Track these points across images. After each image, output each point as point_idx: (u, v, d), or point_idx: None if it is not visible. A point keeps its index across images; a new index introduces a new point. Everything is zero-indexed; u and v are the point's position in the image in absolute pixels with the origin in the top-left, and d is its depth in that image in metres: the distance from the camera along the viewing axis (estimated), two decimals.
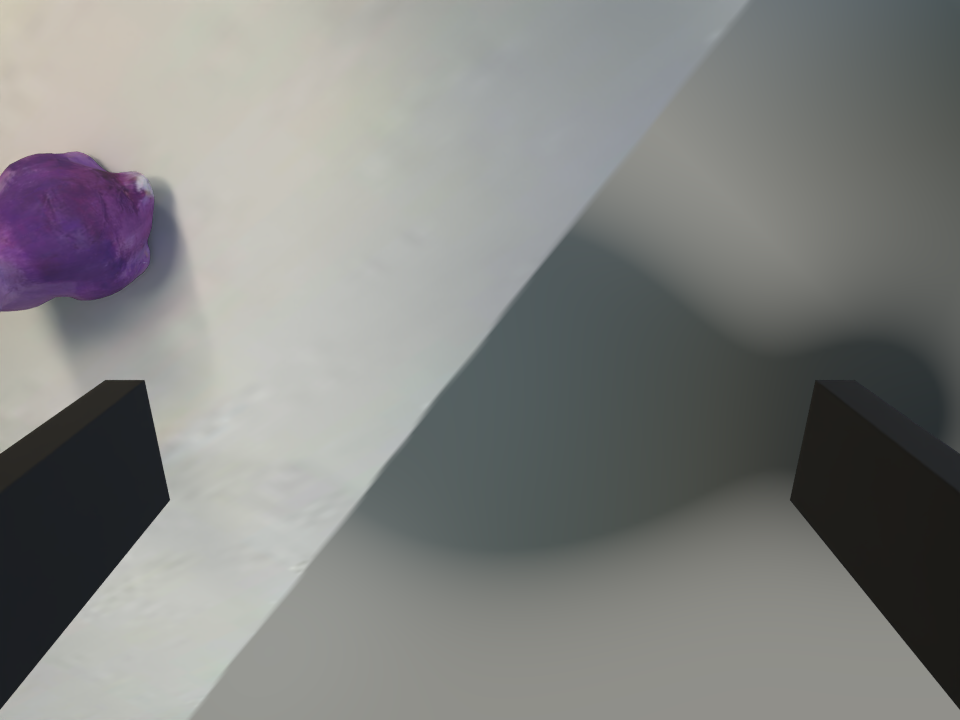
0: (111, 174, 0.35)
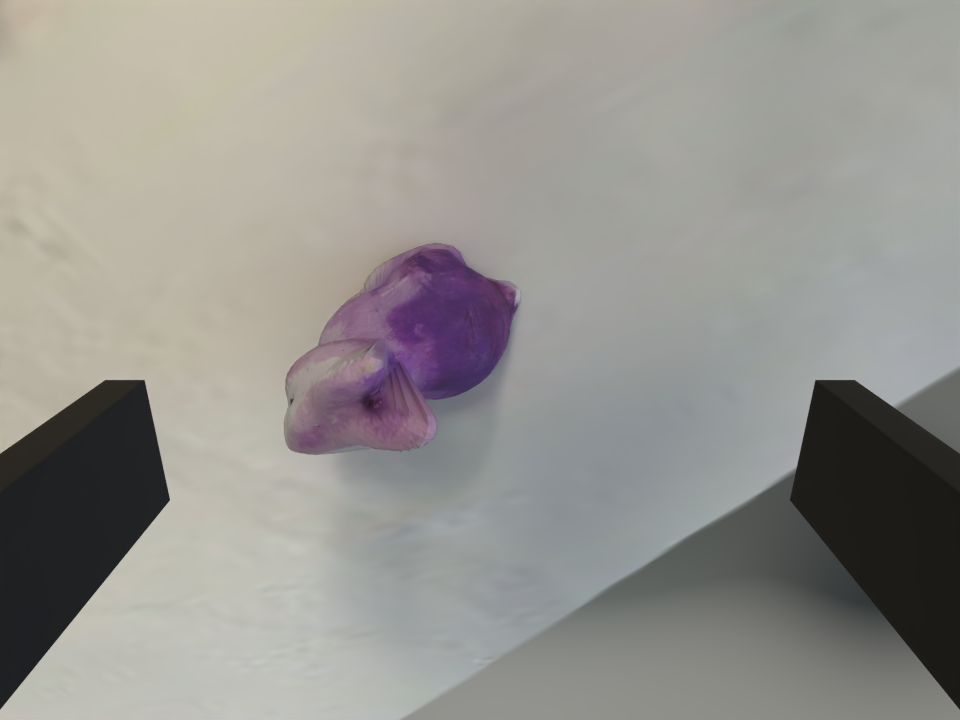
0: (493, 283, 0.34)
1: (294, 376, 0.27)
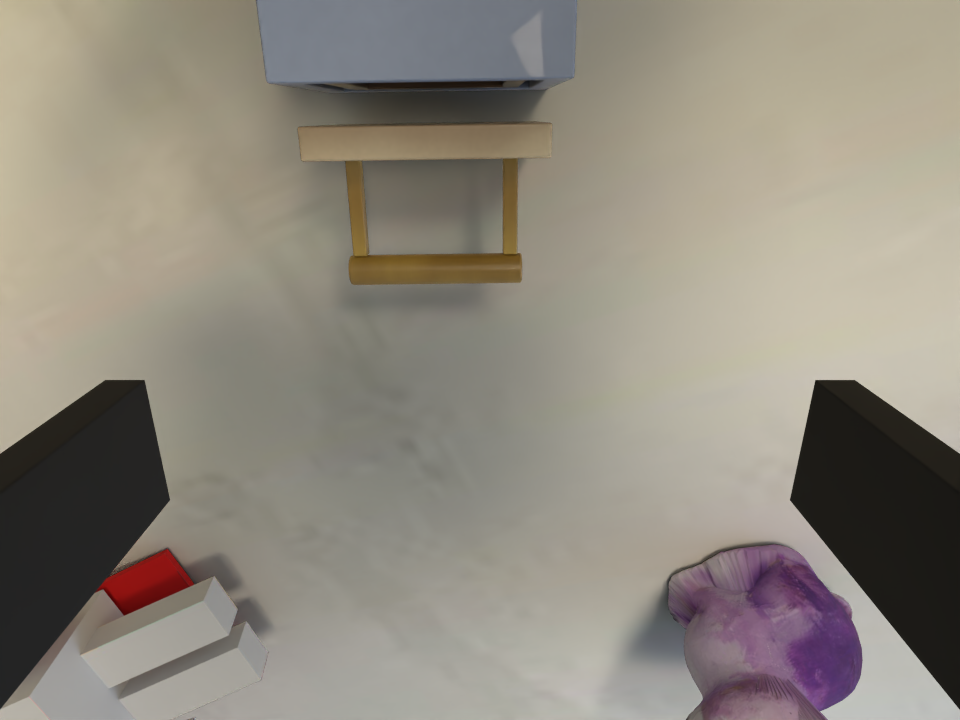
0: None
1: None
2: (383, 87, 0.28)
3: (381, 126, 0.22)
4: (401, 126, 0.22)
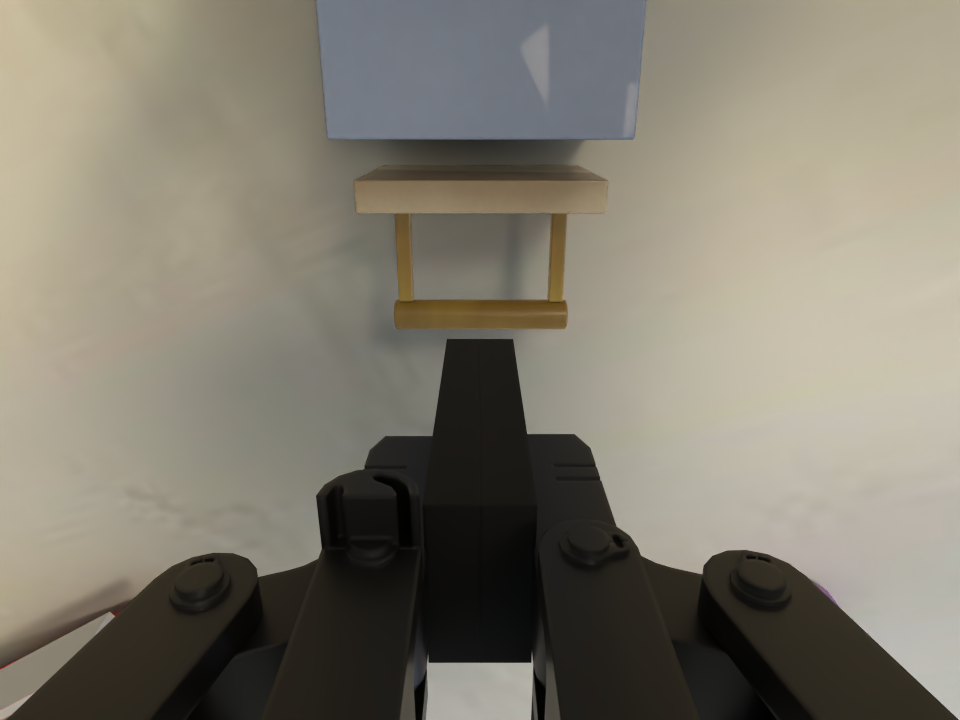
0: None
1: None
2: None
3: (437, 180, 0.22)
4: (457, 181, 0.22)
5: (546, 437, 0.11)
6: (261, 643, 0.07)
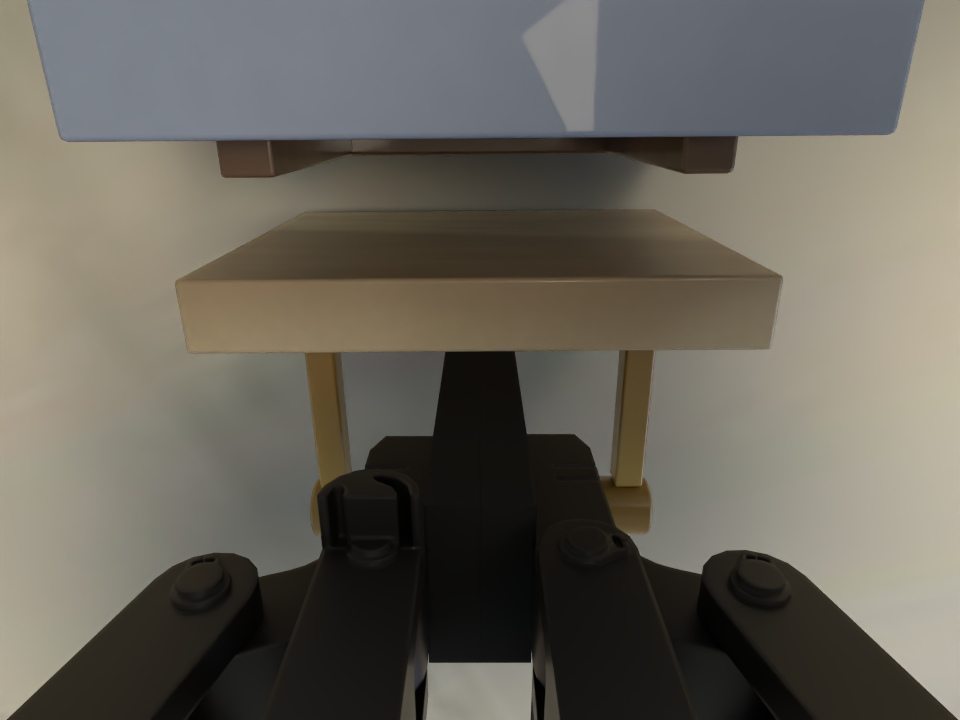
0: None
1: None
2: (381, 152, 0.15)
3: (375, 280, 0.09)
4: (423, 281, 0.09)
5: (546, 437, 0.11)
6: (262, 643, 0.07)
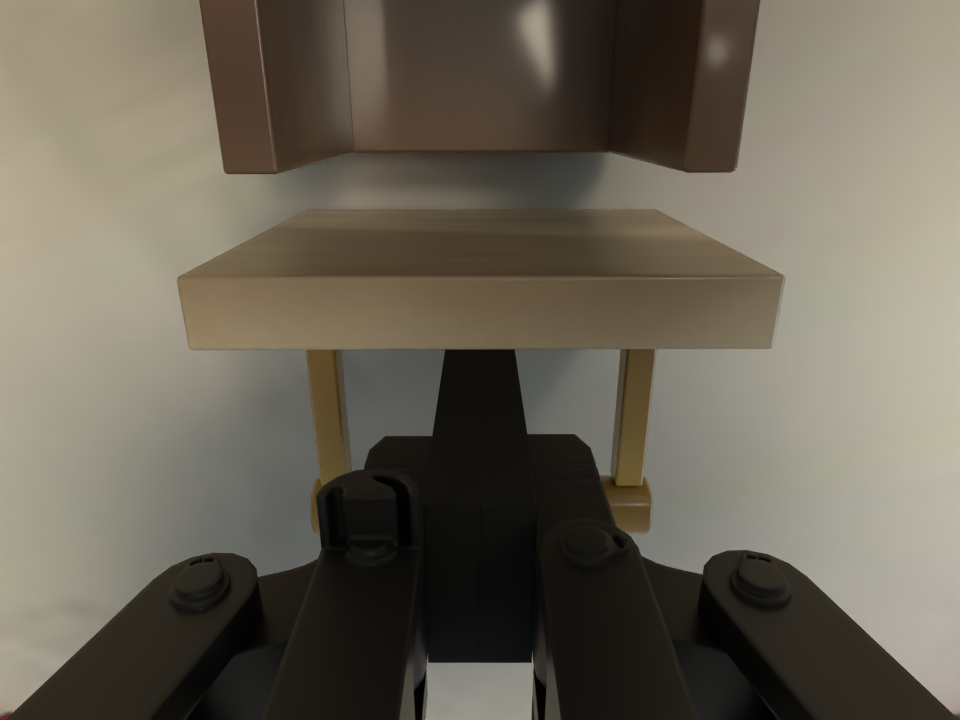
0: None
1: None
2: (382, 150, 0.15)
3: (377, 277, 0.09)
4: (425, 279, 0.09)
5: (547, 437, 0.11)
6: (260, 643, 0.07)
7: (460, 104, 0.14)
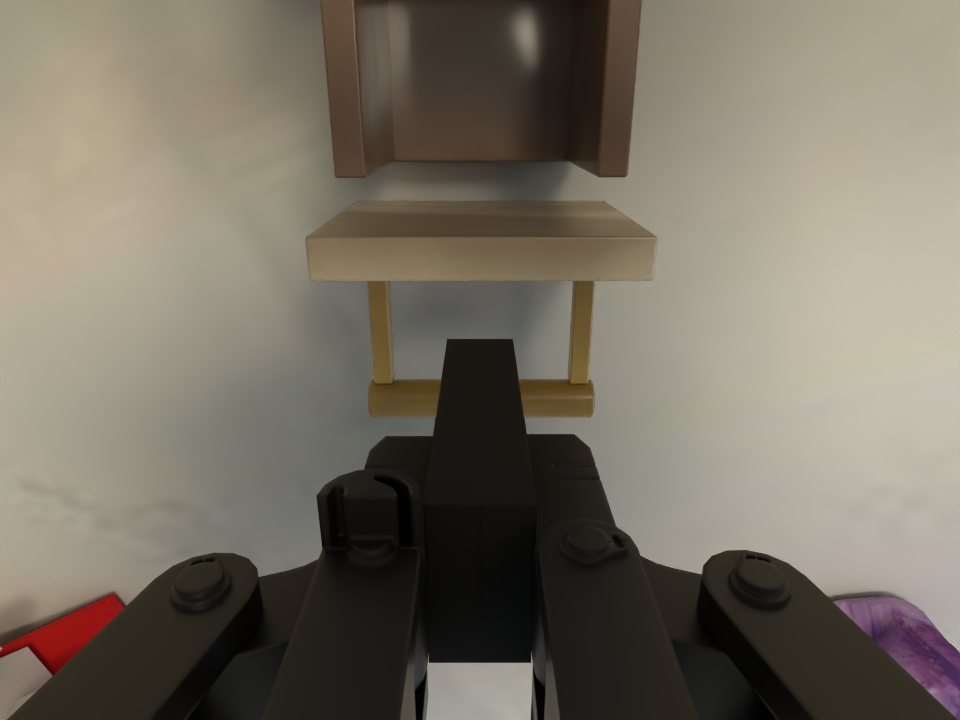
0: None
1: None
2: (414, 160, 0.21)
3: (421, 237, 0.16)
4: (449, 238, 0.16)
5: (546, 437, 0.11)
6: (261, 643, 0.07)
7: (467, 129, 0.21)
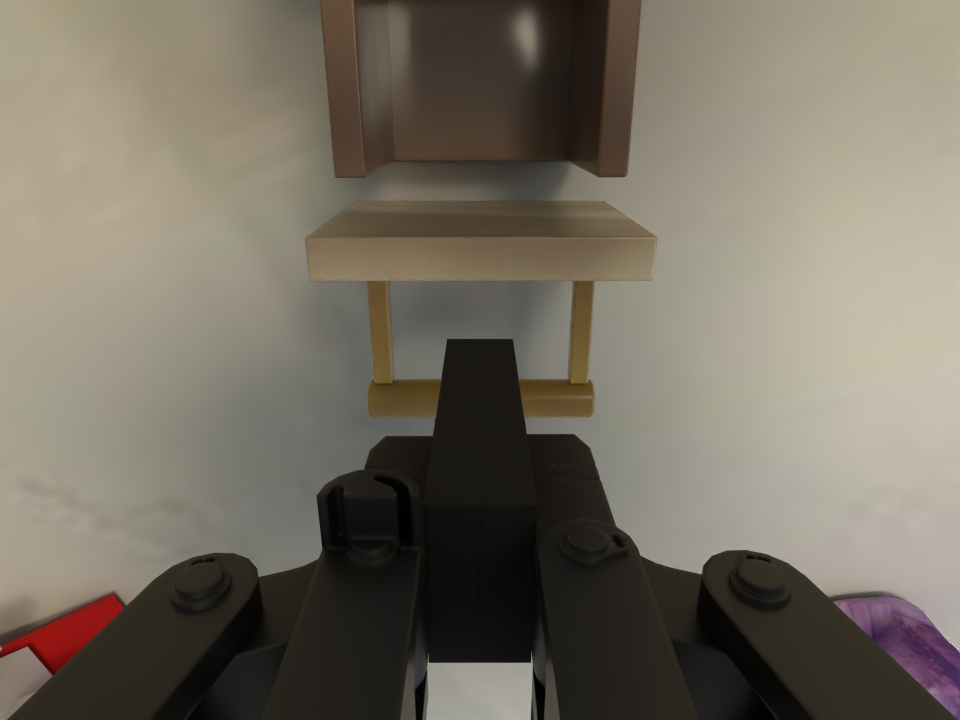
0: None
1: None
2: (414, 160, 0.21)
3: (421, 237, 0.16)
4: (449, 238, 0.16)
5: (546, 437, 0.11)
6: (261, 643, 0.07)
7: (467, 129, 0.21)
